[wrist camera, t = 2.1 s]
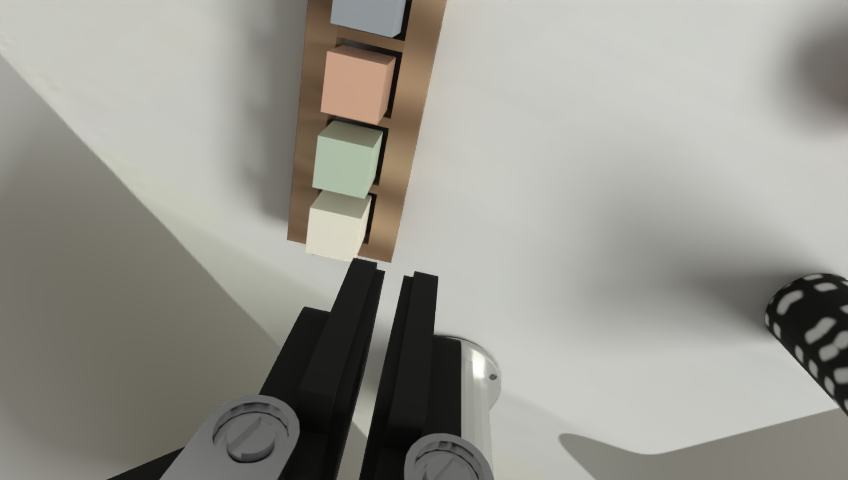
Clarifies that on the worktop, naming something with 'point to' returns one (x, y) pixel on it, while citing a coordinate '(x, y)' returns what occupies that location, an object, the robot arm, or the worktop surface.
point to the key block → (399, 121)
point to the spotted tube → (815, 329)
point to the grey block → (369, 15)
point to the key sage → (346, 158)
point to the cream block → (337, 225)
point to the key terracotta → (357, 83)
